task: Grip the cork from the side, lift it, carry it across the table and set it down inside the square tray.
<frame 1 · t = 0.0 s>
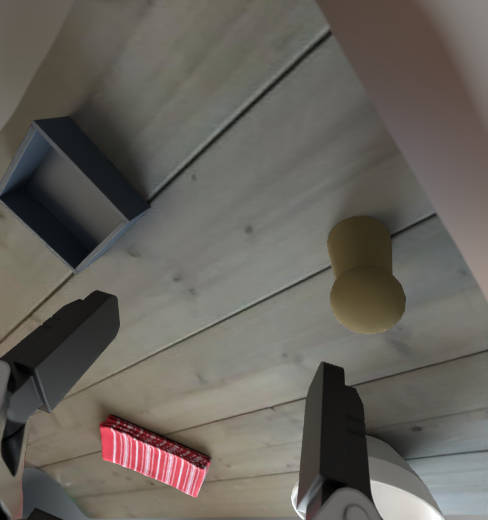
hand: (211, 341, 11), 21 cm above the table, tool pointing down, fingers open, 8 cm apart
dish towel: (155, 452, 65), on the table
cork: (358, 243, 30), on the table
square tray: (85, 195, 36), on the table
bowl: (359, 452, 47), on the table
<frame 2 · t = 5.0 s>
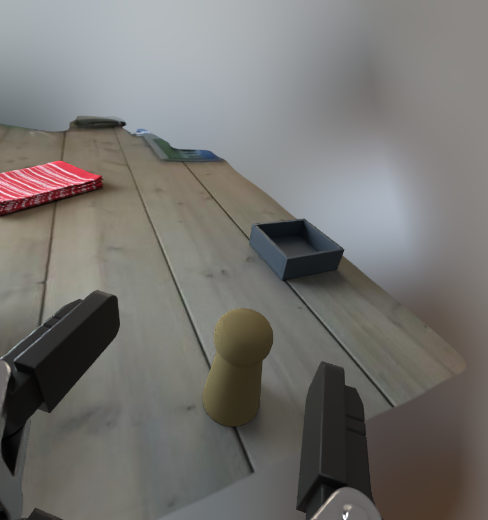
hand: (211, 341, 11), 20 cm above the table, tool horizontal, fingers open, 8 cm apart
dish towel: (34, 189, 65), on the table
cork: (231, 398, 31), on the table
square tray: (291, 255, 57), on the table
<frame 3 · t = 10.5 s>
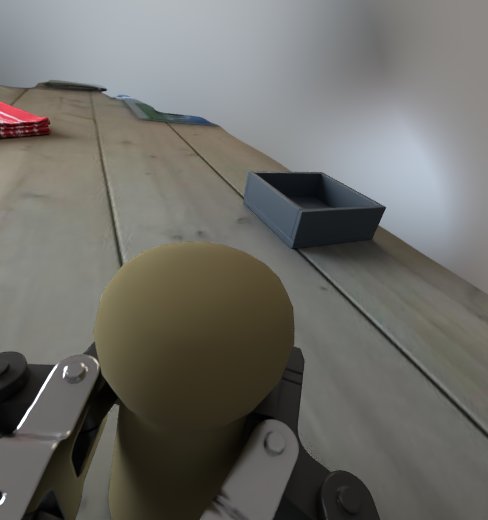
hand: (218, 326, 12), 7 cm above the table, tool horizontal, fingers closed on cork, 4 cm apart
cork: (182, 475, 13), on the table, touching gripper
square tray: (304, 219, 39), on the table
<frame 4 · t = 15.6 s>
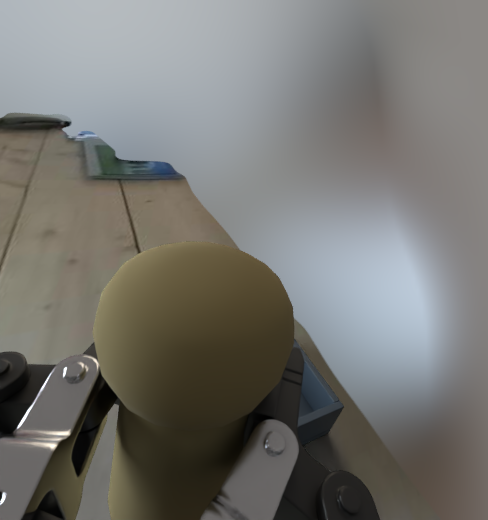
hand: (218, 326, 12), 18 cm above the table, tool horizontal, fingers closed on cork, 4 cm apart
cork: (182, 475, 13), point 11 cm above the table, touching gripper
square tray: (240, 395, 29), on the table
when the fingers open (7 cm above the table, at t = 20.5 s): cork stays where it is, resting on square tray.
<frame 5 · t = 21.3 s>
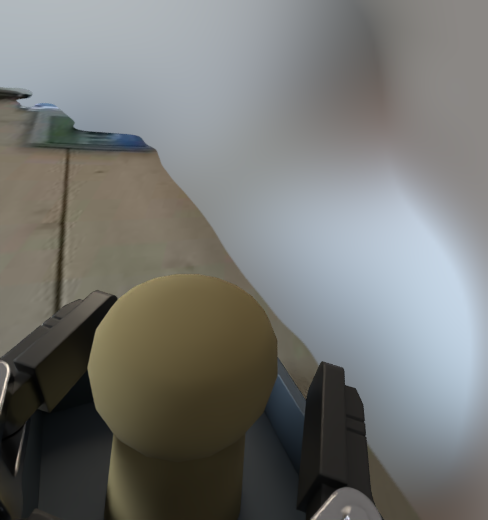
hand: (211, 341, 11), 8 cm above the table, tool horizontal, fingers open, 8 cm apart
cork: (176, 489, 14), point 1 cm above the table, touching square tray
square tray: (178, 492, 14), on the table
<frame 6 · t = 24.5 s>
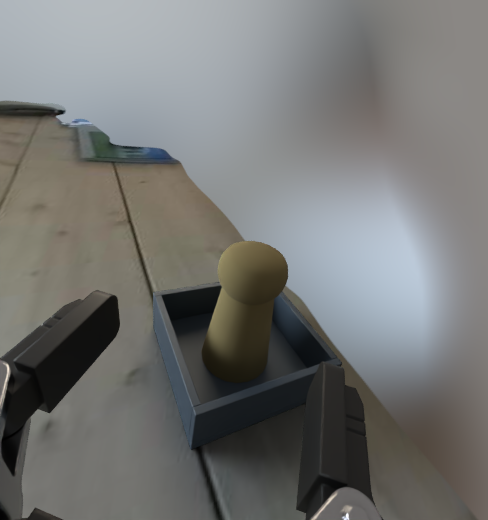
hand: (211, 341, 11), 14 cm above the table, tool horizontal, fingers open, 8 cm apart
cork: (234, 354, 27), point 1 cm above the table, touching square tray
square tray: (234, 358, 28), on the table
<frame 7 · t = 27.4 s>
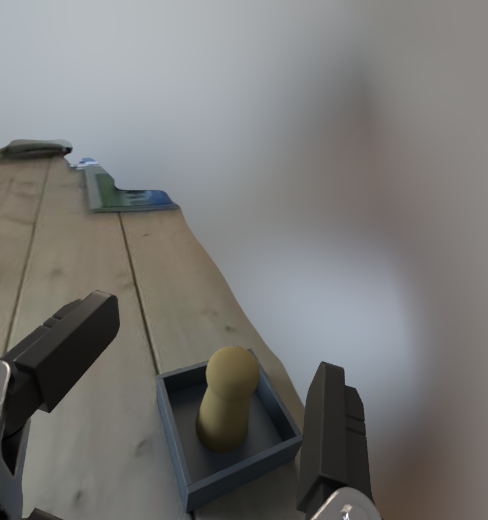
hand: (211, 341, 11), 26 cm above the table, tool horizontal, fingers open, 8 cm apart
cork: (221, 424, 34), point 1 cm above the table, touching square tray
square tray: (222, 426, 34), on the table
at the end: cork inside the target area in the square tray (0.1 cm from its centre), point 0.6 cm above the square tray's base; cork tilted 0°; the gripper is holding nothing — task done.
